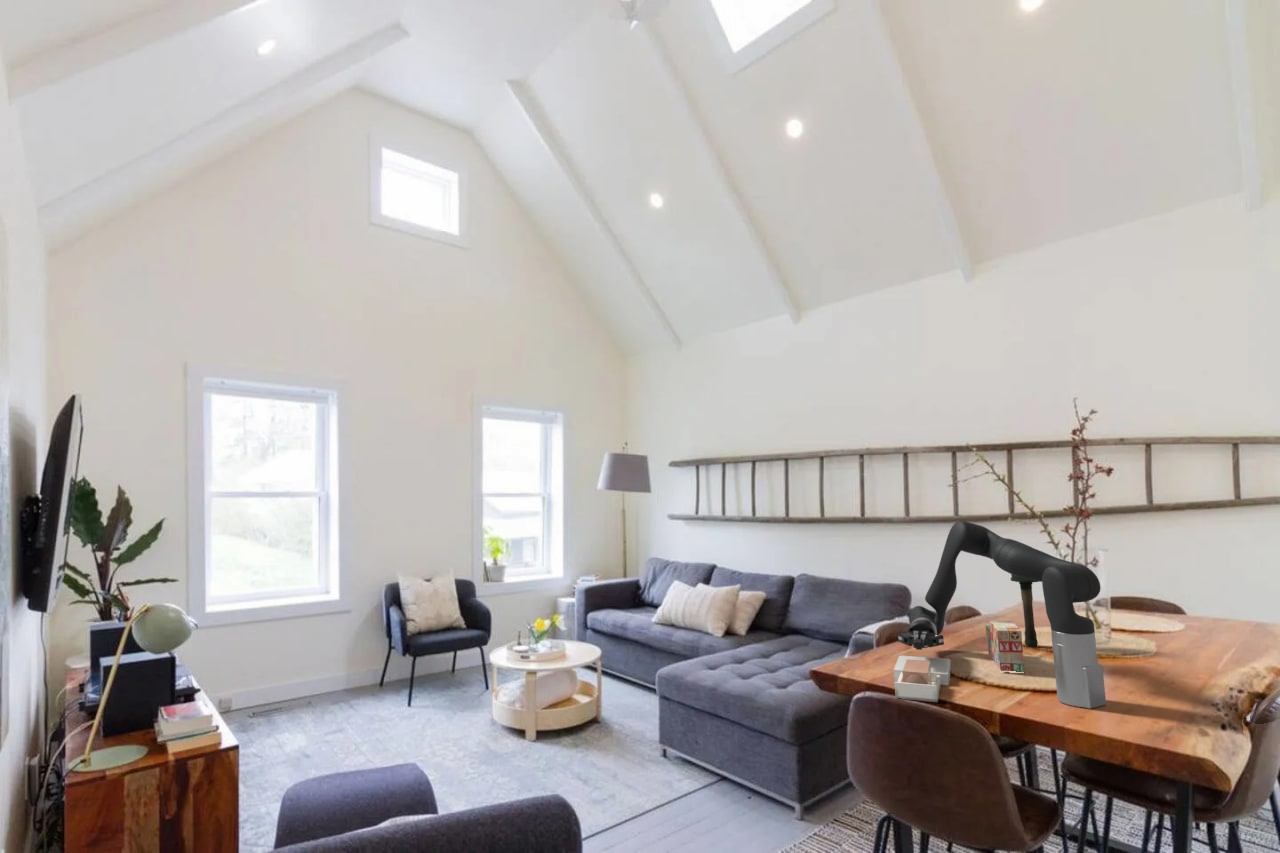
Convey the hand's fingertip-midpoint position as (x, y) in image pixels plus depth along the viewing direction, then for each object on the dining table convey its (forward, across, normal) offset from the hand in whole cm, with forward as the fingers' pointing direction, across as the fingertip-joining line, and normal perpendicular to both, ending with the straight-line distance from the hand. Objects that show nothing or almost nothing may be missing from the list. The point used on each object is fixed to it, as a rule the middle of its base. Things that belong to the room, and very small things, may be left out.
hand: (918, 646), depth 188 cm
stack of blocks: (-25, +22, +10) cm, 35 cm away
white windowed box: (-6, 0, +10) cm, 11 cm away
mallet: (-49, +30, +10) cm, 58 cm away
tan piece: (+4, 0, +6) cm, 7 cm away
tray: (+10, 0, +10) cm, 14 cm away
